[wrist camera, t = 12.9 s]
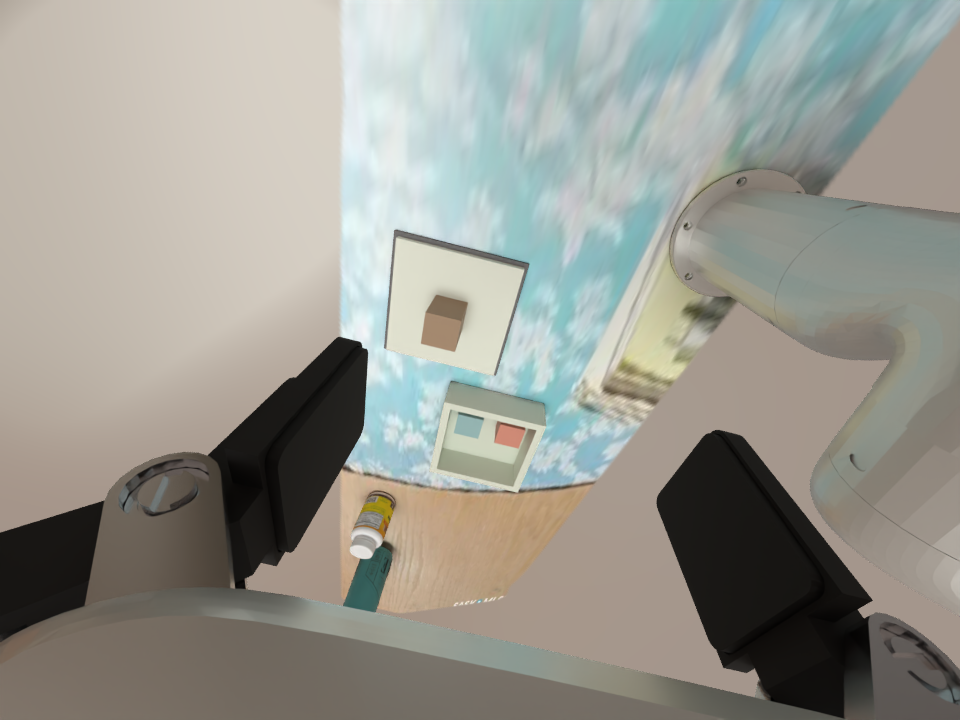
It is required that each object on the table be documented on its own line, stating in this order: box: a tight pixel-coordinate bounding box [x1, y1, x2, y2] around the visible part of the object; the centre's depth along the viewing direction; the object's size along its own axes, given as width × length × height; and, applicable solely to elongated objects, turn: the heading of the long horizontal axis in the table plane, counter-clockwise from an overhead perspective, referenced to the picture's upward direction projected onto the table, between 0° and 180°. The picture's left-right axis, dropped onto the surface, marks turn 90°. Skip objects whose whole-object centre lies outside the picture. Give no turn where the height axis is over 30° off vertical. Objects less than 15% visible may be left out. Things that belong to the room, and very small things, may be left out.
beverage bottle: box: [343, 546, 393, 612], centre depth 65 cm, size 6×7×20 cm
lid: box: [386, 236, 524, 376], centre depth 41 cm, size 15×15×6 cm
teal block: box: [454, 412, 484, 439], centre depth 50 cm, size 4×4×4 cm
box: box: [429, 381, 546, 492], centre depth 51 cm, size 14×14×5 cm
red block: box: [494, 421, 526, 448], centre depth 50 cm, size 4×4×4 cm
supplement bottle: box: [350, 492, 395, 559], centre depth 61 cm, size 6×6×10 cm
